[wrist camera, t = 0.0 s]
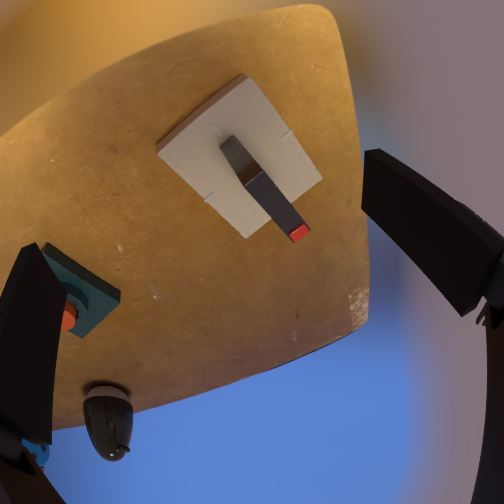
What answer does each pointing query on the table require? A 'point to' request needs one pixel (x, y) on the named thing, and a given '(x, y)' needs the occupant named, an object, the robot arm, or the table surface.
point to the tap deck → (252, 138)
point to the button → (68, 316)
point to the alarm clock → (37, 452)
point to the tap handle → (263, 189)
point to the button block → (82, 291)
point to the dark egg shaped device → (108, 421)
